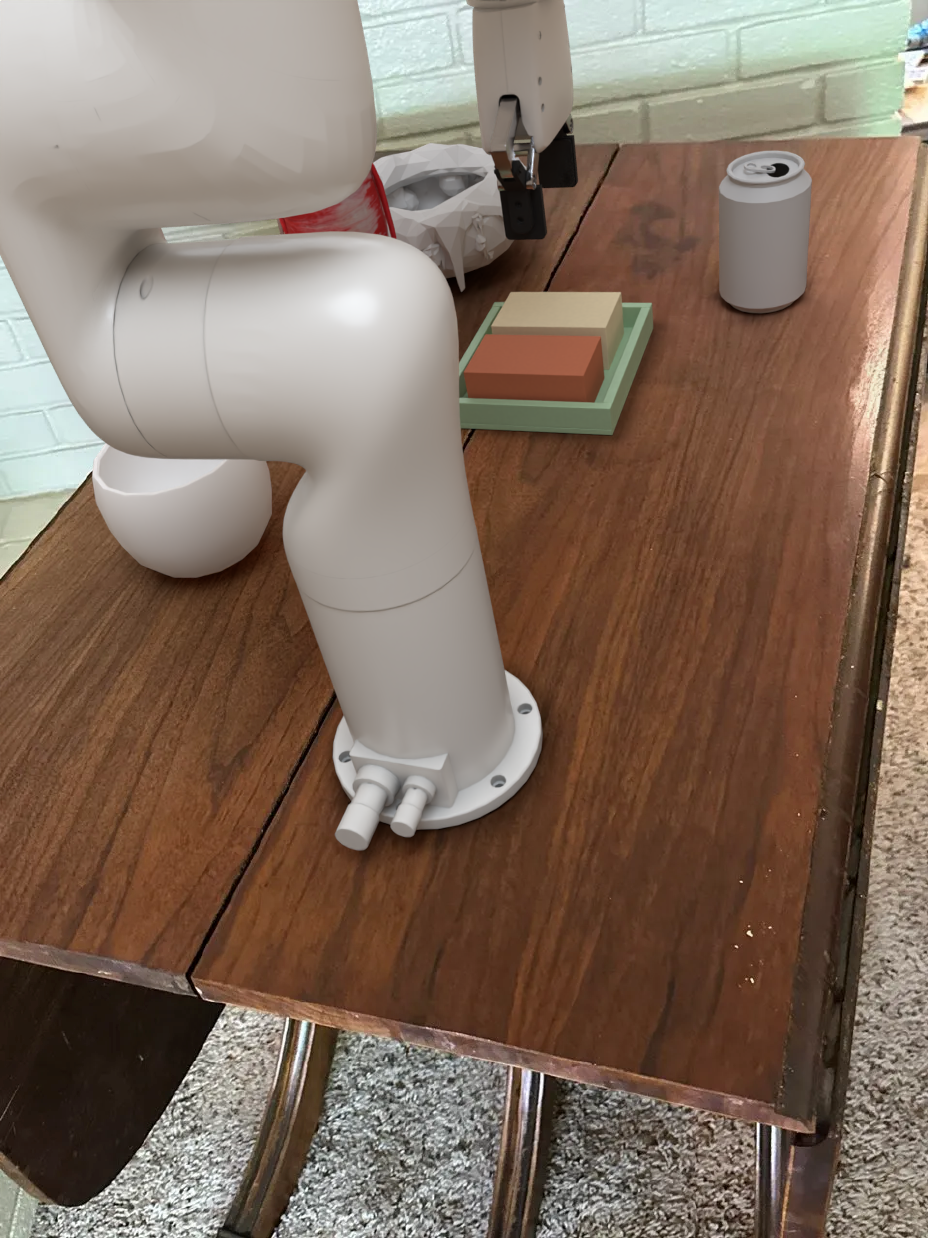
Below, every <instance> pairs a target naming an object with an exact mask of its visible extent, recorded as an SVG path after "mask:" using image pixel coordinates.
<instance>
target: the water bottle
mask: <svg viewBox="0 0 928 1238" xmlns="http://www.w3.org/2000/svg"><path fill="white" fill-rule="evenodd" d="M373 163H374V162H372V166H371V170H370V171H369V173H368V175H367V177H366V178H365V180H364V181H363V183H362V184H361V186H360V187H359V188H358V189H357V190H356V191H355V192H354V193H353V194H351V195H350V196H348V197H347V198H346V199H344V200H343V201H341V202H340V203H338V204H336V205H333V206H330V207H328V208H325V209H322V210H319V211H316V212H313V213H307V214H302V215H296V216H290V217H285V218H277V219H276V223H277V226H278V232H279V235H281V234H297V233H313V232H328V231H339V232H361V233H370V234H378V235H383V236H387V237H389V234H388V227H389V231H390V235H391V238H394V239H397V237H396V232H395V228H394V224H393V220H392V216H391V213H390V209H389V205H388V201H387V198H386V194H385V190H384V186H383V183H382V181H381V179H380V176H379V174H378V172H377V170H376V168H375V166H374V164H373ZM387 224H388V226H387Z"/></svg>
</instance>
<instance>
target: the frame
mask: <svg viewBox="0 0 928 1238" xmlns="http://www.w3.org/2000/svg"><path fill="white" fill-rule="evenodd" d="M504 303H505V301H494V302H493V304H492V305H491V308H490V310H489V311H488V313H487V315H486V317H485V318H484V320H483V321H482V323H481V325H480V327H479V328H478V330H477V331H476V333H475V335H474V336H473V338H472V340H471V342H470V343H469V345H468V347H467V348H466V350H465V351H464V354H463V356H462V357H461V359H460V360H459V407H460V426H461V429H473V430H494V431H511V432H513V431H514V432H534V433H536V432H537V433H553V434H554V433H557V434H578V435H579V434H580V435H581V434H582V435H601V436H613V435H614V432H615V429H616V427H617V424H618V422H619V419H620V416H621V414H622V412H623V409H624V406H625V403H626V400H627V397H628V395H629V393H630V390H631V387H632V386H633V382H634V381H635V380H634V379H635V378H636V374H637V373H638V370H639V367H640V364H641V361H642V358H643V356H644V353H645V351H646V348H647V345H648V343H649V341H650V338H651V335H652V333H653V330H654V311H653V303H652V302H622V311H623V325H624V335H623V337H622V340H621V342H620V344H619V347H618V349H617V352H616V354H615V357H614V359H613V361H612V364H611V366H610V369H609V370H604V381H603V383H602V386H601V388H600V390H599V393H598V395H597V398H596V400H595V402H594V403H591V402H563V401H536V400H508V399H481V398H468V394H467V388H466V383H465V377H464V371H465V369H466V367H467V365H468V364H469V362H470V360H471V359H472V357H473V355H474V353H475V352H476V350H477V348H478V346H479V345H480V343H481V341H482V340H483V338H484V336H485V335H486V334H491V335H492V329H491V325H492V324H493V322H494V320H495V318H496V317H497V315H498V313H499V312H500V310H501V308H502V306H503V305H504Z"/></svg>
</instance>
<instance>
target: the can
mask: <svg viewBox="0 0 928 1238" xmlns="http://www.w3.org/2000/svg"><path fill="white" fill-rule="evenodd" d="M805 165H806V162H805V161H804V158H803V157H801V156H799V155H798V154H796V153H793V152H790V151H785V150H761V151H755V152H751V153H748V154H744V155H741V156H740V157H736V159H733V161H731V162H730V163H729V164H728V165H727V167H726V169H725V170H726V176H725V177H724V178H723V179H722V180H721V181H720V183H719V186H718V288H719V289H718V290H719V295H720V297H721V298H722V299H723V300H724V301H725V302H726V303H727V304H729V305H730V306H732V307H733V308H734V309H735V310H737V311H740V312H745V313H749V314H766V313H774V312H777V311H781V310H783V309H785V308H787V307H789V306H791V305H792V304H793V303H794V302H795V301H796V300H798V299H799V298H800V297H801V296H802V295H803V294H804V293H805V291H806V289H807V288H806V287H807V281H808V280H807V279H808V263H809V262H808V260H809V245H810V243H809V242H810V225H811V223H810V222H811V205H812V189H813V187H812V186H813V179H812V177H811V175H810V173H808V171H807V170H806V169H805Z"/></svg>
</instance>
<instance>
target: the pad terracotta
mask: <svg viewBox="0 0 928 1238" xmlns="http://www.w3.org/2000/svg"><path fill="white" fill-rule="evenodd" d="M464 377H465V383H466V388H467V394H468V398H481V399H508V400H536V401H563V402H591V403H594V402H595V400H596V398H597V395H598V393H599V390H600V388H601V386H602V383H603V381H604V367H603V355H602V344H601V336H554V335H491V334H486V335H485V336H484V338H483V340H482V341H481V343H480V345H479V346H478V348H477V350H476V352H475V353H474V355H473V357H472V359H471V360H470V362H469V364H468V365H467V367H466V369H465V371H464Z"/></svg>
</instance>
